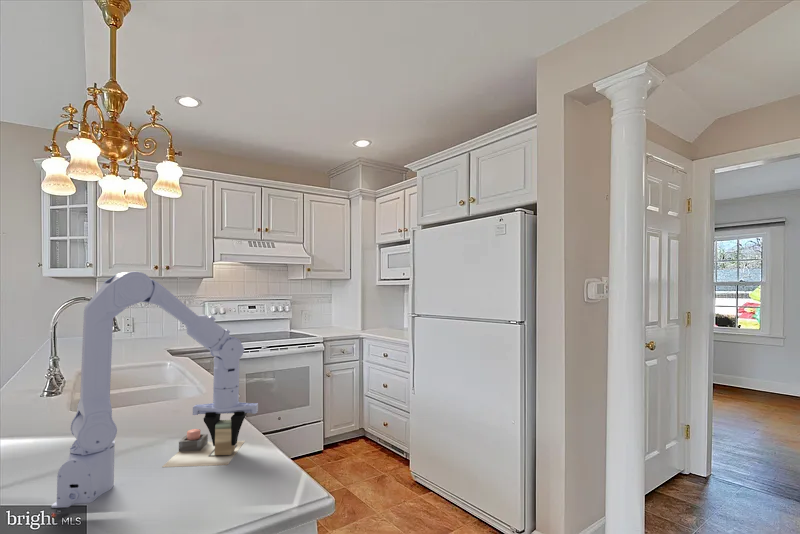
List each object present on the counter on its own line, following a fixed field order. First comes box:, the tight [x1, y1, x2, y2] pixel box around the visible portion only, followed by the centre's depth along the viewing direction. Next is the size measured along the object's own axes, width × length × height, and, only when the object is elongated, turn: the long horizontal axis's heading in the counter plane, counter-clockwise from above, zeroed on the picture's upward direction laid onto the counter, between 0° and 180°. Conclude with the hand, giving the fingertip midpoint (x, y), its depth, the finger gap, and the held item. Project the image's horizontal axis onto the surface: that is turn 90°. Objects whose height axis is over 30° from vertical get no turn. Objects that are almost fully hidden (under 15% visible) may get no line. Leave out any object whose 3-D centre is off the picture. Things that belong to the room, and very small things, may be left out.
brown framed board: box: [161, 433, 246, 468], centre depth 104 cm, size 18×16×3 cm
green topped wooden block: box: [215, 419, 235, 455], centre depth 104 cm, size 4×4×7 cm
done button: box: [186, 428, 201, 440], centre depth 108 cm, size 3×3×3 cm
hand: (225, 444), depth 104 cm, fingers closed on green topped wooden block, 4 cm apart
